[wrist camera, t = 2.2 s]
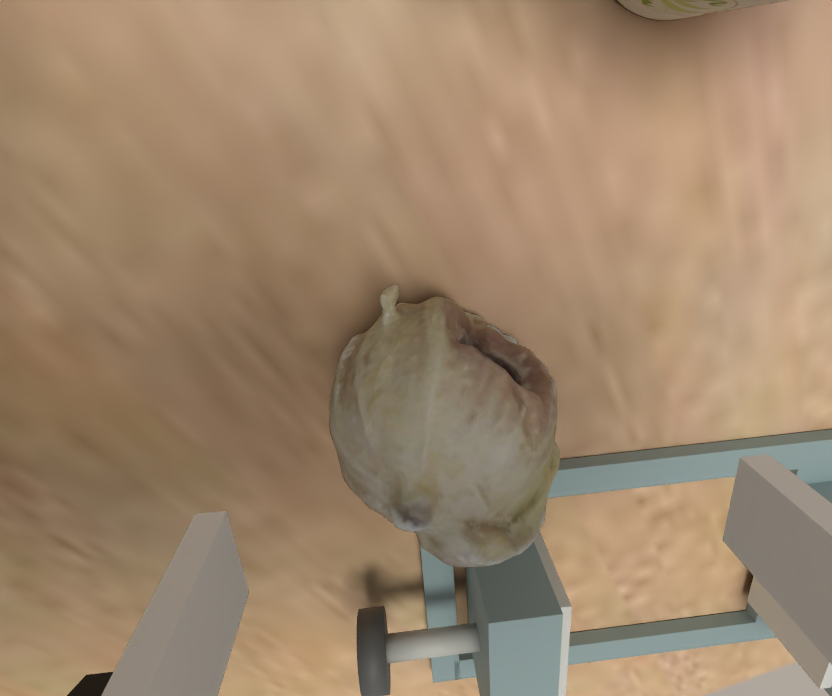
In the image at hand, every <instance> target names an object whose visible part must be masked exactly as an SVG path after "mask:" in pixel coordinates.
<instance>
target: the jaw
mask: <svg viewBox="0 0 832 696" xmlns="http://www.w3.org/2000/svg"><path fill="white" fill-rule="evenodd" d="M466 582H467V602H468V623H469V624H461V625H453V626H445V627H438V628H430V629H422V630H414V631H406V632H398V633H390V634H388V630H387V620H386V613H385V608H384V606H380V607H372V608H364V609H359V610H358V616H357V662H358V675H359V684H360V691H361V695H362V696H383V695H390V663H395V662H403V661H411V660H418V659H426V658H434V657H442V656H450V655H457V654H465V653H472V656H473V662H474V667H475V672H476V677H477V682H478V687H479V693H480V696H566V683H567V668H568V653H569V638H570V624H571V609H572V606H571V604H570V601H569V599H568V597H567V594H566V592H565V590H564V587H563V585H562V583H561V580H560V578H559V576H558V573H557V571H556V569H555V566H554V564H553V562H552V559H551V557H550V555H549V552H548V550H547V548H546V545H545V543H544V541H543V538H542V536H541V534H540V532H538V535H537V536H536V538H535V540H534V541H533V543H532V544H531V545H530V546H529V547H528V548H527V549H526V550H524V551H523V552H522V553H521V554H519V555H516V556H513V557H511V558H509V559H507V560H505V561H503V562H501V563H499V564H494V565H490V566H483V567H466Z"/></svg>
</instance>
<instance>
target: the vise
mask: <svg viewBox="0 0 832 696" xmlns="http://www.w3.org/2000/svg"><path fill="white" fill-rule="evenodd" d="M767 454H769V455H770V456H772V457H773V458H774V459H775V460H777V461H778V462H779V463H781V464H782V465H783V466H784V467H786V468H787V469H788V470H790V471H791V472H792V473H793V474H795V475H796V476H797V477H798V478H800V479H801V480H802V481H804V482H805V483H806V484H807V485H809V486H810V487H811V488H813V489H814V490H815V491H816V492H818V493H819V494H820V495H822V496H823V497H824V498H825V499H827V500H828V501H829V502H830V503H832V429H829V430H820V431H811V432H802V433H793V434H784V435H775V436H766V437H757V438H749V439H740V440H731V441H722V442H713V443H704V444H695V445H686V446H677V447H668V448H659V449H650V450H642V451H633V452H624V453H615V454H606V455H597V456H588V457H579V458H570V459H561V460H560V463H559V468H558V471H557V473H556V475H555V477H554V479H553V481H552V484H551V487H550V490H549V493H548V497H547V498H554V497H562V496H571V495H580V494H588V493H597V492H605V491H614V490H623V489H631V488H640V487H649V486H657V485H666V484H675V483H683V482H692V481H701V480H709V479H718V478H727V477H735V476H736V473H737V469H738V464H739V459H740V457H748V456H757V455H767ZM420 550H421V561H422V572H423V582H424V593H425V603H426V614H427V624H428V629H430V628H438V627H445V626H453V625H457V618H456V602H455V585H454V569H453V566H449V565H447V564H445V563H443V562H441V561H440V560H439V559H437V558H436V557H435V556H433V555H432V554H430V553H429V552H427V551H426V550H424V549H423V548H422V547H421V546H420ZM747 602H748V605H747V609H746V611H739V612H731V613H723V614H715V615H707V616H700V617H692V618H684V619H676V620H669V621H661V622H653V623H645V624H637V625H630V626H622V627H614V628H606V629H598V630H591V631H583V632H575V633H570V638H569V653H568V665H572V664H579V663H587V662H595V661H602V660H610V659H617V658H625V657H633V656H640V655H648V654H655V653H663V652H671V651H678V650H686V649H694V648H701V647H709V646H716V645H724V644H732V643H739V642H747V641H755V640H762V639H770V638H778V639H779V641H780V642H781V643H782V644H783V645H784V647H785V648H786V649H787V650H788V652H789V653H790V654H791V655H792V656H793V658H794V659H795V660H796V661H797V662H798V664H799V665H800V666H801V667H802V669H803V670H804V671H805V672H806V673H807V675H808V676H809V677H810V678H811V679H812V681H813V682H814V683H815V684H816V686H817V687H818V688H819V689H823V688H824V689H825V690H826V692H827V693H828V694H829V695H830V696H832V665H831V663H830V662H829V661H828V660H827V659H826V658H825V657H824V655H823V654H822V653H821V652H820V651H819V650H818V649H817V647H816V646H815V645H814V644H813V643H812V642H811V641H810V639H809V638H808V637H807V636H806V635H805V634H804V633H803V631H802V630H801V629H800V628H799V627H798V626H797V625H796V623H795V622H794V621H793V620H792V619H791V618H790V617H789V615H788V614H787V613H786V612H785V611H784V610H783V609H782V607H781V606H780V605H779V604H778V603H777V602H776V601H775V600H774V598H773V597H772V596H771V595H770V594H769V593H768V592H767V590H766V589H765V588H764V587H763V586H762V585H761V584H760V582H759V581H758V580H757V579H756V578H755V577H754V576H753V580H752V584H751V588H750V592H749V596H748V599H747ZM431 667H432V676H433V683H434V682H442V681H450V680H457V679H465V678H473V677H476V672H475V667H474V662H473V656H472V653H465V654H457V655H450V656H442V657H434V658H431Z"/></svg>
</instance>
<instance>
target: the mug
mask: <svg viewBox="0 0 832 696" xmlns="http://www.w3.org/2000/svg"><path fill="white" fill-rule="evenodd" d="M617 1H618V2H619V3H620V4H621V5H623V6H624V7H625V8H627V9H628V10H630V11H631V12H633V13H635V14H638V15H640V16H643V17H646V18H650V19H656V20H675V19H682V18H688V17H694V16H700V15H706V14H712V13H717V12H723V11H729V10H735V9H741V8H746V7H752V6H758V5H764V4H770V3H775V2H781V1H787V0H617Z"/></svg>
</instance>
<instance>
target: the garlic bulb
mask: <svg viewBox="0 0 832 696" xmlns="http://www.w3.org/2000/svg"><path fill="white" fill-rule="evenodd" d="M398 297H399V287H398V286H397V285H391V286H390V287H388V288H387V289H385V290H384V291H383V292H382V294H381V297H380V304H381V306H382V309H383V310H382V314H381V316H380V317H379V318H378V320H377V321H376V322H375V323H374V325H373V326H372V327H371V328H370V329H368V330H367V331H366V332H365V333H360V334H357V335H355V336H354V337H352V339H351V340H350V341H349V343H348V344H347V346H346V347H345V349H344V351H343V353H342V355H341V357H340V360H339V363H338V367H337V371H336V375H335V379H334V382H333V386H332V389H331V395H330V418H329V425H330V433H331V437H332V440H333V442H334V445H335V448H336V451H337V454H338V458H339V463H340V467H341V471H342V475H343V478H344V481H345V482H346V483H347V485H348V486H349V488H350V489H351V490H352V491H353V492H354V493H355V494H356V495H357V496H359V497H360V498H361V500H362V501H363V502H364V503H365V504H366V505H367V506H368V507H369V508H370V509H372V510H374V511H376V512H377V513H379V514H381V515H382V516H384V517H385V518H386V519H388V520H389V521H390V522H391V523H393V524H394V525H395V527H396V528H399V529H401V530H404V531H410V532H414V533H416V534H417V536H418V539H419V542H420V546H421V547H422V548H423V549H424V550H426V551H427V552H429V553H430V554H432V555H433V556H435V557H436V558H437V559H439V560H440V561H441V562H443V563H445V564H447V565H449V566H456V567H483V566H490V565H494V564H499V563H501V562H503V561H505V560H507V559H509V558H511V557H513V556H516V555H519V554H521V553H522V552H523V551H524V550H526V549H527V548H528V547H529V546H530V545H531V544H532V543H533V541H534V540H535V538H536V536H537V535H538V532H539V530H540V528H541V525H542V523H543V521H544V520H545V511H546V503H547V497H548V493H549V490H550V487H551V484H552V481H553V479H554V477H555V475H556V473H557V471H558V468H559V463H560V455H559V449H558V447H557V445H556V443H555V441H554V438H555V431H556V421H557V391H556V385H555V381H554V379H553V378H552V377H551V375H550V374H549V371H548V369H547V367H546V366H545V364H543V363H542V362H541V361H540V360H539V359H538V358H536V357H535V355H534V353H533V352H532V351H530V350H529V349H527V348H525V347H523V346H520V345H517V340H516V339H515V338H513V337H511V336H508V335H504V334H503V333H502V332H501V331H500V330H499V329H498V328H496V327H494V326H492V325H486V323H485V321H484V320H483V318H482V317H481V316H478V315H473V314H470V313H468V312H465V311H463V310H462V309H461V308H460V307H459V306H458V305H457V304H456V303H455V302H454V300H451V299H447V298H443V297H432V298H430V299H428V300H426V301H424V302H422V303H419V304H410V303H399V304H397V305H396V303H397V300H398Z"/></svg>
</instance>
